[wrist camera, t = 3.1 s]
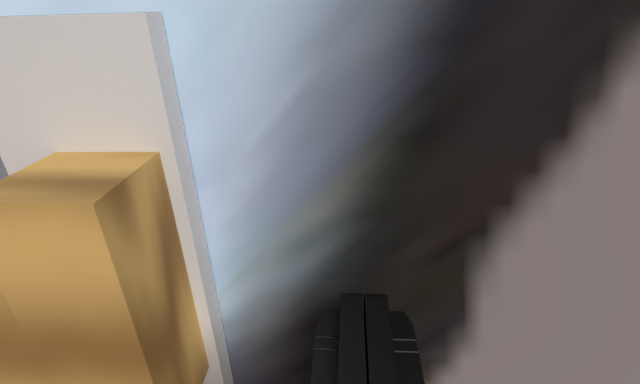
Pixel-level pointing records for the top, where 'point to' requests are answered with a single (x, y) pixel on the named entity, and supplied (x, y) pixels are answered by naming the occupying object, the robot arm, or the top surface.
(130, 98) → the t board
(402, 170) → the top surface
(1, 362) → the t block
